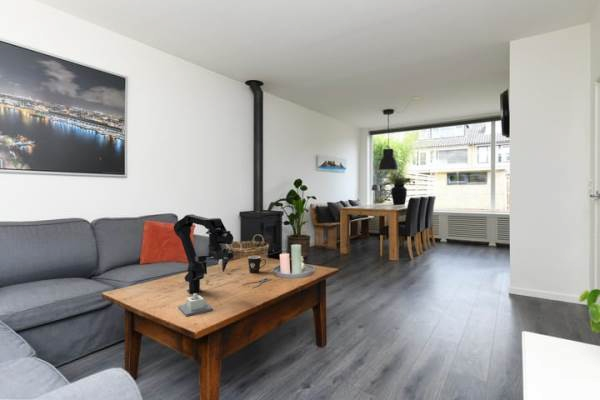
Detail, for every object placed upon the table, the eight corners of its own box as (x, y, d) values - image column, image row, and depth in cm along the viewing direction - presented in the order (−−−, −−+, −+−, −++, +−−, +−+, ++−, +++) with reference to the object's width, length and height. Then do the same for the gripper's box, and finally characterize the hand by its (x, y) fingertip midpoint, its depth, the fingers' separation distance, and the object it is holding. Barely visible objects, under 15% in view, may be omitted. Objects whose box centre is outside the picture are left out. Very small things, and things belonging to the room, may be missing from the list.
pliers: (239, 285, 180) (258, 276, 199) (239, 287, 180) (258, 278, 199) (254, 287, 177) (271, 278, 195) (254, 289, 177) (271, 280, 195)
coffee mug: (245, 272, 211) (245, 257, 211) (254, 269, 218) (254, 255, 218) (258, 275, 204) (258, 259, 204) (266, 272, 211) (266, 257, 211)
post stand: (178, 308, 147) (177, 293, 146) (203, 302, 154) (203, 288, 153) (185, 316, 137) (185, 300, 137) (212, 310, 144) (212, 295, 144)
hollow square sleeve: (186, 306, 146) (186, 297, 146) (199, 303, 149) (199, 295, 149) (190, 310, 141) (190, 301, 141) (204, 307, 145) (203, 298, 144)
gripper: (202, 247, 150) (202, 279, 151) (238, 243, 161) (238, 273, 162) (194, 243, 159) (194, 274, 160) (229, 240, 170) (229, 269, 171)
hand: (214, 273), depth 163 cm, fingers open, 9 cm apart
